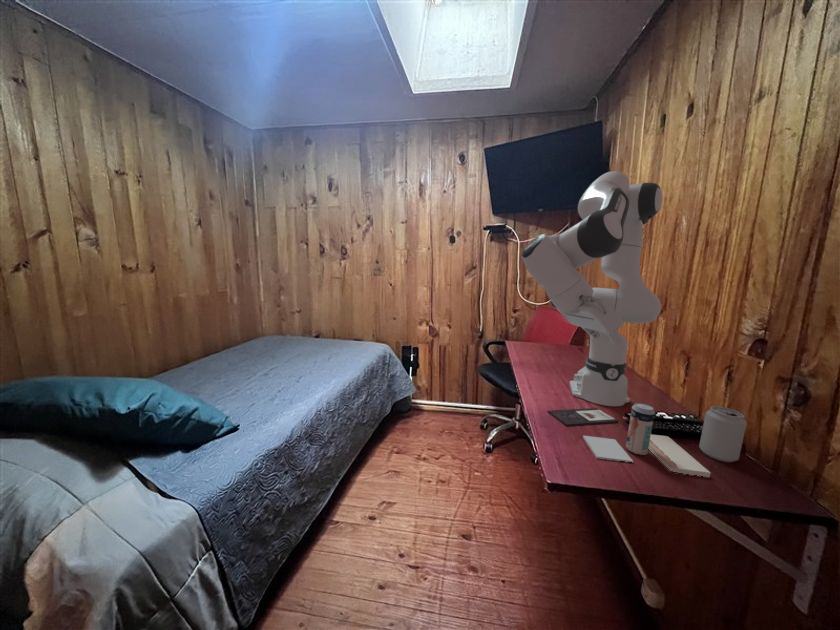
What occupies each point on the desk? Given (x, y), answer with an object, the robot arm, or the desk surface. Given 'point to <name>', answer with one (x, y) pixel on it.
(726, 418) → the can
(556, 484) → the desk surface
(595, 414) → the chocolate bar
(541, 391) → the desk surface
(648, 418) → the jar with lid
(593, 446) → the mat
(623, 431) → the desk surface
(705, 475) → the board
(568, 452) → the desk surface
